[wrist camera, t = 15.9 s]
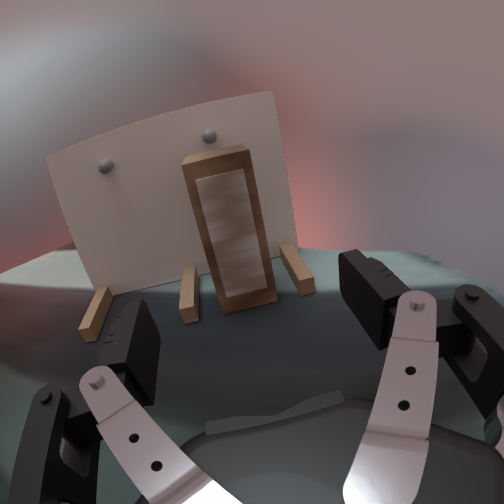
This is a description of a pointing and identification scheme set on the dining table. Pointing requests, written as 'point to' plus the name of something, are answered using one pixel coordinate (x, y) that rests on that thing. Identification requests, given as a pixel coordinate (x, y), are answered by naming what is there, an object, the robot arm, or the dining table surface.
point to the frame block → (231, 226)
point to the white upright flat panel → (167, 200)
